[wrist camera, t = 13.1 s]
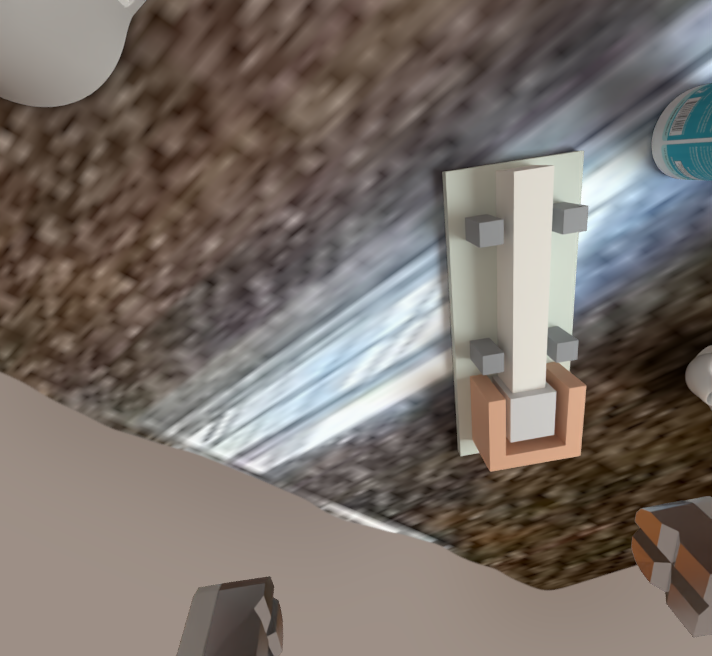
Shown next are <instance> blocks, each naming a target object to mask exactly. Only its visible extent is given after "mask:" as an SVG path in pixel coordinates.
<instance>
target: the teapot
mask: <svg viewBox="0 0 712 656" xmlns="http://www.w3.org/2000/svg"><path fill="white" fill-rule="evenodd" d="M685 381H686V384H687V386H688V388H689V389H690V390H691V391H692V392H693V393H694V394H695V395H696V396H698V397H699V398H700V399H701V400H702V401H704V402H705V403H706V404H708V406H709V407H710V409H711V410H712V345H710V346H708V347H706V348H705V349H703V350H702V351H701V352H700V353H699V354H698V355H697V356H696V358H694V359H693V360H692V361H691V362H690V363H689V365H688V366H687V368H686V371H685Z"/></svg>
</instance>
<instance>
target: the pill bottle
mask: <svg viewBox="0 0 712 656" xmlns="http://www.w3.org/2000/svg"><path fill="white" fill-rule="evenodd" d="M651 147H652V155H653V159H654V161H655V163H656V165H657V167H658V168H659V169H660V170H661V171H662V172H663V173H665V174H666V175H668V176H670V177H672V178H676V179H685V180H712V83H710V84H706V85H701V86H697V87H694V88H692V89H689V90H687V91H686V92H684V93H682V94H681V95H679V96H678V97H676V98H675V99H674V100H673V101H672V102H671V103H670V104H669V105H668V106H667V107H666V108H665V110H664V111H663V113H662V114H661V116H660V117H659V119H658V121H657V123H656V126H655V128H654V132H653V136H652V146H651Z"/></svg>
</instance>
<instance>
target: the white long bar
mask: <svg viewBox="0 0 712 656" xmlns="http://www.w3.org/2000/svg"><path fill="white" fill-rule="evenodd" d="M553 189H554V165H529V166H522V167H516V168H510V169H503V170H497V171H496V217H498V218H501V219H504V244H501V245H497V336H498V347H499V348H500V349H501V350H502V351H503V352H504V372H500V373H498V376H493V377H492V383H493V384H494V385H495V387H496V388H497V389H498V390H499V392H500V393H501V394H502V395H503V397H504V398H505V399H506V437H507V438H508V440H509V441H510V443H511V442H517V441H523V440H528V439H534V438H540V437H545V436H551V435H554V429H555V410H556V391H555V390H554V389H553V388H552V387H551V386H550V385H549V384H548V383H547V382H546V360H547V335H548V311H549V287H550V262H551V238H552V213H553Z"/></svg>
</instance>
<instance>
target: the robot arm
mask: <svg viewBox="0 0 712 656" xmlns="http://www.w3.org/2000/svg"><path fill="white" fill-rule="evenodd" d="M145 1H146V0H0V97H2V98H4V99H7V100H9V101H12V102H16V103H19V104H23V105H28V106H36V107H55V106H62V105H67V104H70V103H74V102H76V101H79V100H81V99H83V98H85V97H87V96H88V95H90V94H91V93H93V92H94V91H96V90H97V89H98V88H99V87H100V86H101V85H102V84H103V83H104V82H105V81H106V80H107V79H108V77H109V76H110V75H111V73H112V72H113V70H114V68H115V66H116V65H117V63H118V60H119V58H120V56H121V53H122V50H123V47H124V43H125V39H126V35H127V30H128V27H129V24H130V21H131V19H132V16H133V15H134V14H135V13H136V12H137V11H138V9H139V8H140V7H141V6H142V5H143V3H144V2H145ZM635 522H636V523H637V524H638V526H639V527H640V529H639V530H638V531H637V532H636V533H635V534H634V535H633V536H632V546H631V548H632V552H633V555H634V558H635V561H636V563H637V565H638V566H639V568H640V570H641V572H642V573H643V575H644V576H645V577H646V579H647V580H648V581H649V582H650V583H651V584H652V585H654V586H656V587H658V588H659V589H661V590H663V591H664V592H665V594H666V604H667V605H668V607H669V608H670V609H671V610H672V612H673V613H674V614H675V615H676V617H677V618H678V619H679V620H680V622H681V623H682V624H683V625H684V627H685V628H686V629H687V630H688V632H689V633H690V634H691V635H692V637H699V636H705V635H712V497H710V496H708V497H701V498H696V499H691V500H686V501H677V502H672V503H666V504H661V505H656V506H651V507H646V508H641V509H640V510H639V511H638V512H637V513H636V518H635ZM273 593H274V585H273V582H272V580H271V577H270V576H269V577H263V578H256V579H249V580H243V581H236V582H229V583H222V584H217V585H211V586H205V587H199V588H198V590H197V591H196V593H195V594H194V596H193V599H192V602H191V606H190V610H189V613H188V616H187V620H186V623H185V627H184V631H183V634H182V638H181V641H180V645H179V648H178V652H177V655H176V656H280V654H281V653H282V648H283V619H282V613H281V607H280V604H279V601H278V600H277V599H275V598H273Z"/></svg>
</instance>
